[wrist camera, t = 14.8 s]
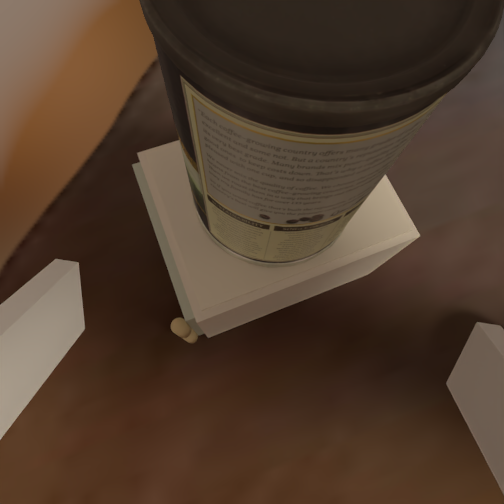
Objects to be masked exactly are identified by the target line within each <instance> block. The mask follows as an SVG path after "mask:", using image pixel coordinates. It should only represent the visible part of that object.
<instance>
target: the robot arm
mask: <svg viewBox="0 0 504 504" xmlns="http://www.w3.org/2000/svg"><path fill="white" fill-rule="evenodd" d="M84 330H85V323H84V313H83V302H82V292H81V282H80V271H79V262H73V261H67V260H60V259H55V260H54V261H53V262H51V263H50V264H49V265H48V266H46V267H45V268H44V269H43V270H42V271H40V272H39V273H38V274H37V275H36V276H34V277H33V278H32V279H31V280H30V281H28V282H27V283H26V284H25V285H24V286H22V287H21V288H20V289H19V290H18V291H16V292H15V293H14V294H13V295H12V296H10V297H9V298H8V299H7V300H6V301H4V302H3V303H2V304H1V305H0V439H1V438H2V437H3V435H4V434H5V433H6V431H7V430H8V429H9V428H10V426H11V425H12V424H13V422H14V421H15V420H16V418H17V417H18V416H19V414H20V413H21V412H22V411H23V409H24V408H25V407H26V405H27V404H28V403H29V401H30V400H31V399H32V397H33V396H34V395H35V394H36V392H37V391H38V390H39V388H40V387H41V386H42V384H43V383H44V382H45V381H46V379H47V378H48V377H49V375H50V374H51V373H52V371H53V370H54V369H55V367H56V366H57V365H58V364H59V362H60V361H61V360H62V358H63V357H64V356H65V354H66V353H67V352H68V350H69V349H70V348H71V347H72V345H73V344H74V343H75V341H76V340H77V339H78V337H79V336H80V335H81V333H82V332H83V331H84ZM446 385H447V387H448V389H449V390H450V392H451V394H452V396H453V398H454V400H455V402H456V404H457V406H458V408H459V410H460V412H461V414H462V415H463V417H464V419H465V421H466V423H467V425H468V427H469V429H470V431H471V433H472V435H473V437H474V439H475V440H476V442H477V444H478V446H479V448H480V450H481V452H482V454H483V456H484V458H485V460H486V462H487V464H488V465H489V467H490V469H491V471H492V473H493V475H494V477H495V479H496V481H497V483H498V485H499V487H500V489H501V491H502V492H503V494H504V329H503V328H502V327H501V326H500V325H494V324H487V323H480V322H476V324H475V326H474V328H473V330H472V332H471V334H470V336H469V338H468V340H467V342H466V344H465V346H464V348H463V350H462V352H461V354H460V356H459V358H458V360H457V362H456V364H455V366H454V368H453V370H452V372H451V374H450V376H449V378H448V380H447V382H446Z"/></svg>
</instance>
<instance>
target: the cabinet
mask: <svg viewBox="0 0 504 504" xmlns="http://www.w3.org/2000/svg"><path fill="white" fill-rule="evenodd" d="M137 154H138V157H139V160H140V162H139V163H136V164H132V167H133V170H134V172H135V175H136V178H137V181H138V184H139V187H140V190H141V193H142V196H143V199H144V202H145V205H146V208H147V210H148V213H149V216H150V219H151V222H152V225H153V228H154V231H155V234H156V237H157V240H158V243H159V246H160V248H161V251H162V254H163V257H164V260H165V263H166V266H167V269H168V272H169V275H170V278H171V281H172V284H173V286H174V289H175V292H176V295H177V298H178V301H179V304H180V307H181V310H182V313H183V316H184V319H183V318H176V319H174V320H173V321H172V323H171V330H172V332H173V333H175V334H176V335H178V336H179V337H181V338H183V339H184V340H185V341H187V342H188V343H195V342H196V341H197V340H198V335H202V334H204V333H205V335H206V336H207V337H208V338H210V337H212V336H215V335H217V334H220V333H222V332H225V331H227V330H230V329H232V328H235V327H237V326H240V325H242V324H245V323H247V322H250V321H252V320H255V319H257V318H260V317H263V316H265V315H268V314H270V313H273V312H275V311H278V310H280V309H283V308H285V307H288V306H290V305H293V304H295V303H298V302H300V301H303V300H305V299H308V298H310V297H313V296H315V295H318V294H320V293H323V292H325V291H328V290H330V289H333V288H335V287H338V286H341V285H343V284H346V283H348V282H351V281H353V280H356V279H358V278H361V277H363V276H366V275H368V274H370V273H371V272H372V271H374V270H375V269H376V268H378V267H379V266H380V265H382V264H383V263H384V262H386V261H387V260H389V259H390V258H391V257H393V256H394V255H395V254H397V253H398V252H399V251H401V250H402V249H403V248H405V247H406V246H407V245H409V244H410V243H411V242H413V241H414V240H415V239H417V238H418V237H420V234H419V233H418V231H417V229H416V227H415V226H414V224H413V222H412V220H411V219H410V217H409V215H408V213H407V212H406V210H405V208H404V206H403V205H402V203H401V201H400V199H399V197H398V196H397V194H396V192H395V190H394V189H393V187H392V185H391V183H390V182H389V180H388V178H387V176H386V175H384V177H383V178H382V179H381V180H380V182H379V183H378V184H377V186H376V187H375V189H374V190H373V191H372V192H371V194H370V195H369V196H368V197H367V199H366V200H365V201H364V203H363V204H362V205H361V207H360V208H359V209H358V210H357V212H356V213H355V214H354V216H353V217H352V218H351V220H350V221H349V222H348V224H347V226H346V227H345V229H344V231H343V233H342V234H341V236H340V237H339V238H338V239H337V240H336V241H335V243H334V244H333V245H332V246H331V247H330V248H328V249H327V250H326V251H324V252H323V253H321V254H320V255H318V256H316V257H315V258H313V259H310V260H308V261H306V262H304V263H300V264H296V265H292V266H283V267H265V266H260V265H255V264H251V263H248V262H245V261H242V260H240V259H238V258H236V257H234V256H232V255H230V254H228V253H227V252H226V251H224V250H223V249H221V248H220V247H219V246H218V245H217V244H215V242H214V241H213V240H212V239H211V238H210V237H209V236H208V234H207V233H206V232H205V230H204V228H203V227H202V225H201V223H200V221H199V219H198V217H197V214H196V211H195V207H194V203H193V195H192V191H191V187H190V183H189V178H188V175H187V170H186V166H185V162H184V158H183V154H182V150H181V145H180V141H179V140H178V141H174V142H171V143H168V144H165V145H161V146H158V147H155V148H151V149H148V150H145V151H142V152H138V153H137Z"/></svg>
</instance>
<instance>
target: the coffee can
mask: <svg viewBox="0 0 504 504" xmlns="http://www.w3.org/2000/svg"><path fill="white" fill-rule="evenodd" d="M140 4H141V7H142V10H143V14H144V17H145V19H146V21H147V24H148V26H149V29H150V30H151V32H152V34H153V37H154V41H155V45H156V49H157V53H158V57H159V62H160V65H161V70H162V74H163V77H164V81H165V86H166V90H167V95H168V98H169V102H170V105H171V109H172V113H173V118H174V122H175V125H176V129H177V133H178V137H179V141H180V145H181V150H182V154H183V158H184V162H185V166H186V170H187V175H188V178H189V183H190V187H191V191H192V195H193V203H194V207H195V211H196V214H197V217H198V219H199V221H200V223H201V225H202V227H203V228H204V230H205V232H206V233H207V234H208V236H209V237H210V238H211V239H212V240H213V241H214V242H215V244H217V245H218V246H219V247H220V248H221V249H223V250H224V251H226V252H227V253H228V254H230V255H232V256H234V257H236V258H238V259H240V260H242V261H245V262H248V263H251V264H255V265H260V266H265V267H283V266H292V265H296V264H300V263H304V262H306V261H308V260H310V259H313V258H315V257H316V256H318V255H320V254H321V253H323V252H324V251H326V250H327V249H328V248H330V247H331V246H332V245H333V244H334V243H335V241H336V240H337V239H338V238H339V237H340V236H341V234H342V233H343V231H344V229H345V227H346V226H347V224H348V222H349V221H350V220H351V218H352V217H353V216H354V214H355V213H356V212H357V210H358V209H359V208H360V207H361V205H362V204H363V203H364V201H365V200H366V199H367V197H368V196H369V195H370V194H371V192H372V191H373V190H374V189H375V187H376V186H377V184H378V183H379V182H380V180H381V179H382V178H383V177H384V175H385V174H386V173H387V171H388V170H389V169H390V167H391V166H392V165H393V163H394V162H395V161H396V159H397V158H398V157H399V155H400V154H401V153H402V151H403V150H404V149H405V147H406V146H407V145H408V144H409V142H410V141H411V140H412V138H413V137H414V136H415V134H416V133H417V132H418V130H419V129H420V128H421V126H422V125H423V124H424V122H425V121H426V120H427V118H428V117H429V116H430V115H431V113H432V112H433V111H434V109H435V108H436V107H437V105H438V104H439V103H440V102H441V100H442V99H443V98H444V96H445V95H446V94H447V93H448V92H449V91H450V90H451V89H453V88H454V87H455V86H456V85H457V84H458V83H459V82H460V81H461V80H462V79H463V78H464V77H465V76H466V75H467V74H468V73H469V72H470V71H471V69H472V68H473V67H474V66H475V65H476V63H477V62H478V61H479V60H480V59H481V58H482V56H483V55H484V53H485V52H486V50H487V48H488V47H489V45H490V43H491V42H492V40H493V38H494V37H495V34H496V32H497V30H498V27H499V24H500V21H501V18H502V13H503V8H504V0H140Z"/></svg>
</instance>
